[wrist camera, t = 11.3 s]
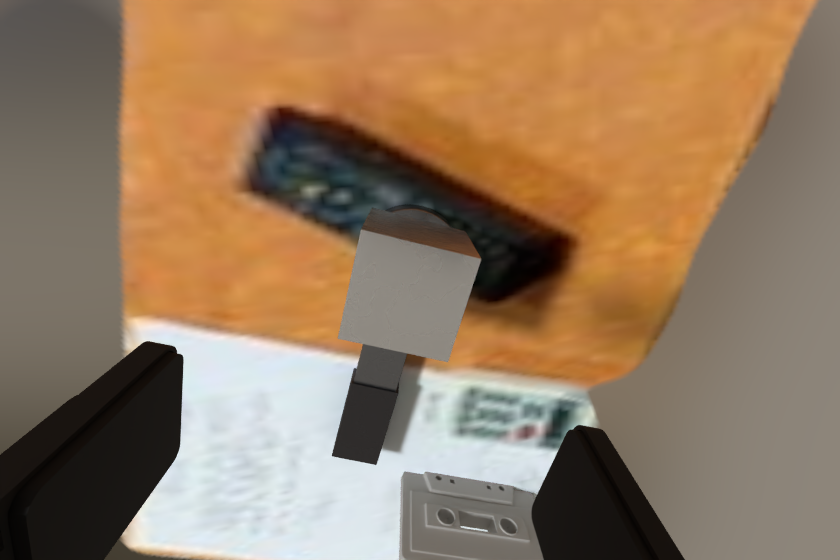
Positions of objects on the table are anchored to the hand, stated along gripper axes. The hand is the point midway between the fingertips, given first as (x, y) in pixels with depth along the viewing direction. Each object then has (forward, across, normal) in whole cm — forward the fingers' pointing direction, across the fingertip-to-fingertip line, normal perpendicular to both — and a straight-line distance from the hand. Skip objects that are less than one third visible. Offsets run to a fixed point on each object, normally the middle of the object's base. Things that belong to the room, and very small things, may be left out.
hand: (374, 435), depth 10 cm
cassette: (+19, -11, +21) cm, 30 cm away
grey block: (+17, -1, +1) cm, 17 cm away
